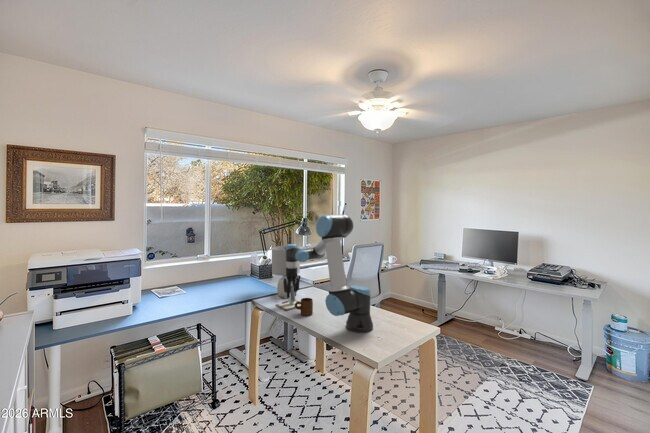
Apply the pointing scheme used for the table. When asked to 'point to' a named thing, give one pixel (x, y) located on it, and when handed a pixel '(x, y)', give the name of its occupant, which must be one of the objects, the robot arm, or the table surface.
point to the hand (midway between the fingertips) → (291, 301)
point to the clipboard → (287, 305)
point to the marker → (292, 294)
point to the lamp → (281, 267)
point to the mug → (305, 306)
